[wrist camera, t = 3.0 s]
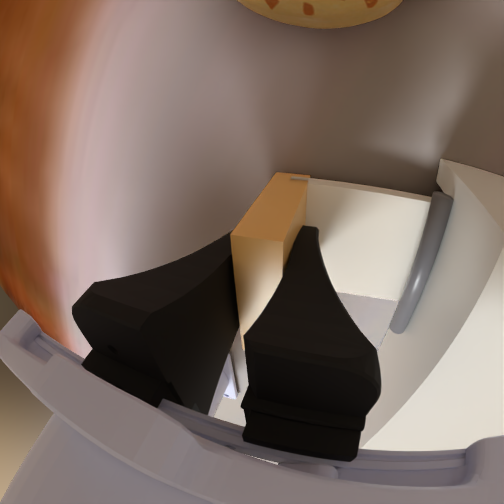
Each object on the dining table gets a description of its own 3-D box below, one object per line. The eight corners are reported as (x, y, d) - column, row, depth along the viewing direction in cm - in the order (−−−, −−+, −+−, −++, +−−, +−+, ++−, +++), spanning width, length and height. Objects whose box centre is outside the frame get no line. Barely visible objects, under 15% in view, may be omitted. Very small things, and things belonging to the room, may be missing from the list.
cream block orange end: (275, 269, 14) (242, 349, 10) (276, 172, 11) (230, 234, 7) (520, 305, 10) (544, 376, 6) (556, 230, 7) (603, 296, 3)
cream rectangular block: (342, 397, 20) (329, 464, 15) (422, 154, 9) (481, 231, 4) (462, 405, 17) (463, 465, 12) (588, 213, 6) (642, 283, 1)
